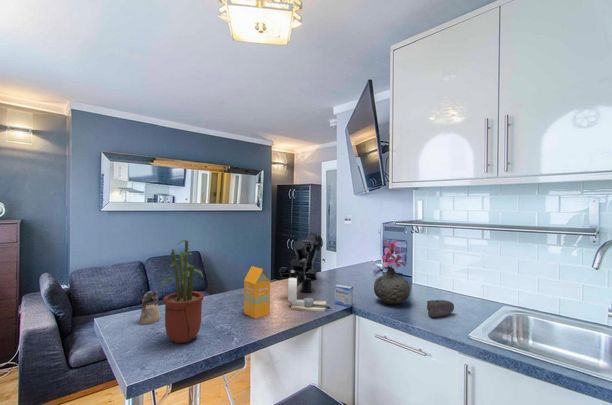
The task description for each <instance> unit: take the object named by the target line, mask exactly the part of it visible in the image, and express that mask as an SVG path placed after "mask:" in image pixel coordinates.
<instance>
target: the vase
mask: <svg viewBox="0 0 612 405" xmlns="http://www.w3.org/2000/svg"><path fill="white" fill-rule="evenodd" d="M399 243H400V241H395V240H393V241H392V242H391V243H389V242H388V241H387V240H384V241H383V242H382V244H384V245H386V247H385V248H384V255H382V256H381V259H382V260H383V261H384V262H382V266H383V267H384V268H382V269H379V270H377V271H376V272H375V273H374V275H373V277H375V276H376V275H377V274H378V273H380V271H382V270H383V269H385V270H386V272H385V273H384V274H382V275H380V276H378V277H377V278H376V279H375V280H374V284H373V291H374V294H375V296H376V297H377V298H378V299H379V300H381V301H382V302H384V304H386V305H389V306H398V305H399V304H400V303H403V302H404V301H406V300H408V299H409V297H410V295H411V294H410V293H411V286H410V283H409V281H408V280H407V279H406V278H404V277H402V276H401V275H399V274H397V273H396V270H395V269H396V268H400V267H401V265H402V266H403V267H404V268H405V267H406V262H403V261H402V259H403V256H401V255H403V253H402V251H401V249H400V248H399V247H396V246H397V245H398V244H399ZM395 252H398V253H397V254H396V256H395V255H394V253H395ZM394 265H395V267H394V268H395V269H394V268H393V266H394Z"/></svg>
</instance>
